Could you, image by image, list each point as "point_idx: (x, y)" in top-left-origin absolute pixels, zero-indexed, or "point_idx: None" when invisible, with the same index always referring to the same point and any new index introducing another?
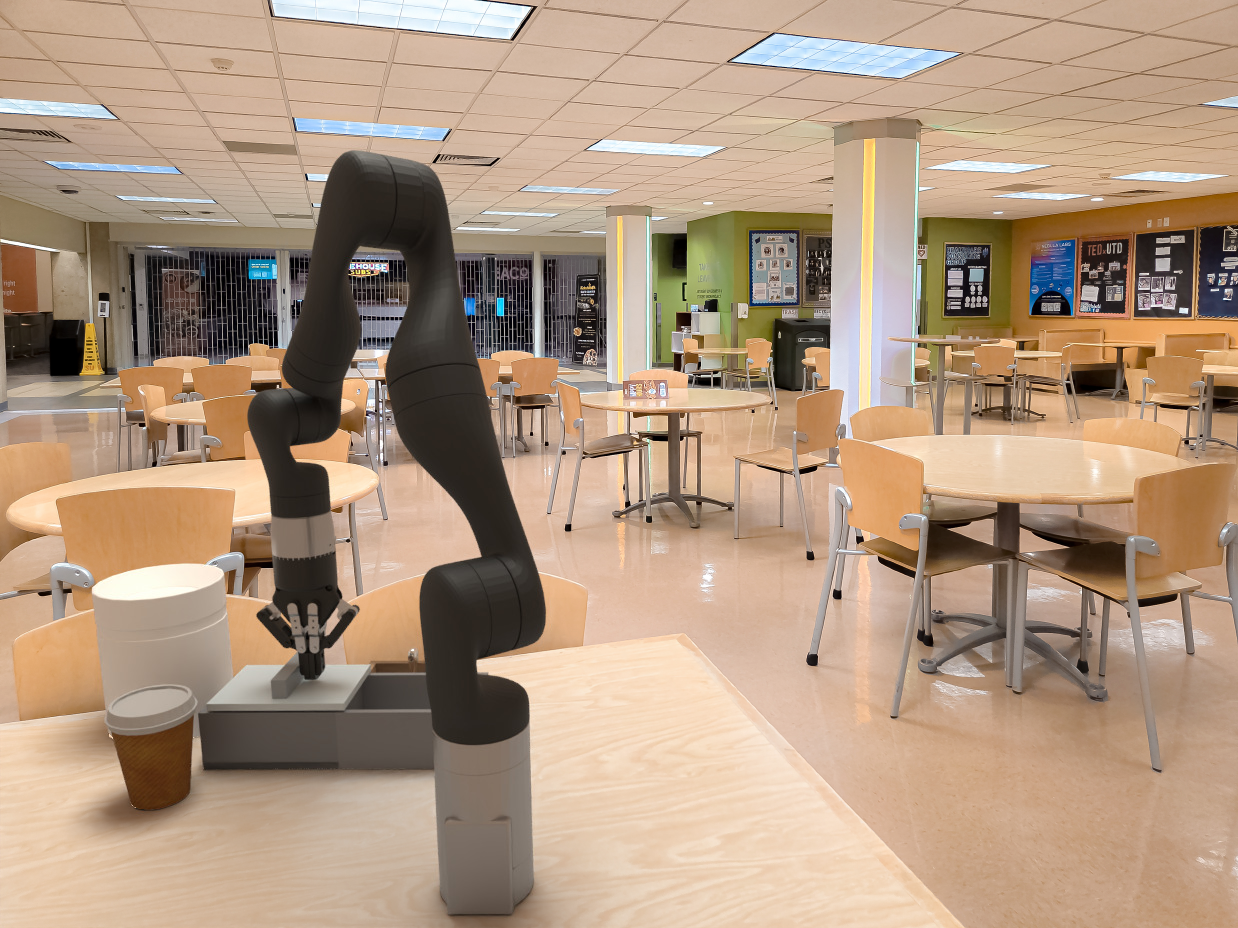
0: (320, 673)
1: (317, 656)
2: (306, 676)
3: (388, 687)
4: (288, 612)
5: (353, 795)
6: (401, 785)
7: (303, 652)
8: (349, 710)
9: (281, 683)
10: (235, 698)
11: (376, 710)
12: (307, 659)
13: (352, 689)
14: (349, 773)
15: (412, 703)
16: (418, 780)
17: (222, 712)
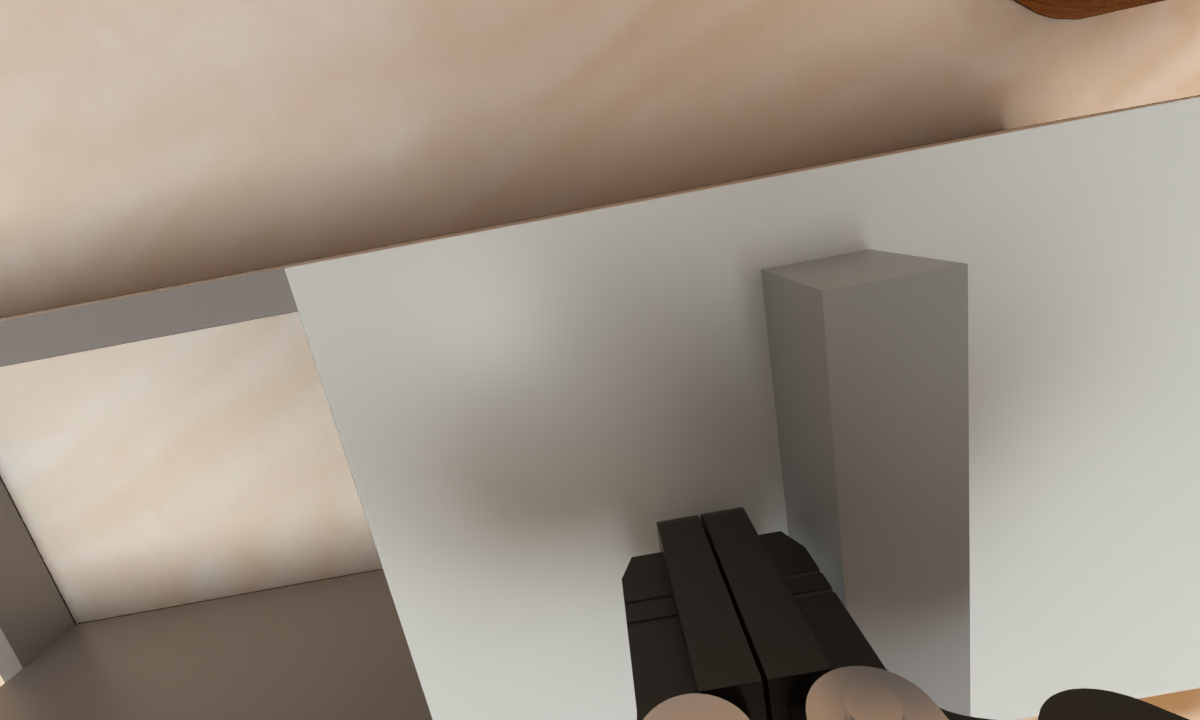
0: (631, 566)
1: (668, 684)
2: (728, 516)
3: (386, 690)
4: None
5: (288, 42)
6: (140, 155)
7: (823, 679)
8: None
9: (845, 279)
10: (1147, 205)
11: (125, 328)
12: (754, 623)
13: (366, 489)
14: (403, 208)
15: (309, 644)
16: (96, 205)
17: None
